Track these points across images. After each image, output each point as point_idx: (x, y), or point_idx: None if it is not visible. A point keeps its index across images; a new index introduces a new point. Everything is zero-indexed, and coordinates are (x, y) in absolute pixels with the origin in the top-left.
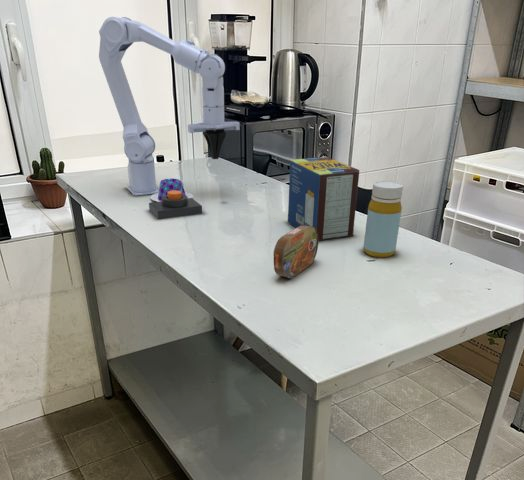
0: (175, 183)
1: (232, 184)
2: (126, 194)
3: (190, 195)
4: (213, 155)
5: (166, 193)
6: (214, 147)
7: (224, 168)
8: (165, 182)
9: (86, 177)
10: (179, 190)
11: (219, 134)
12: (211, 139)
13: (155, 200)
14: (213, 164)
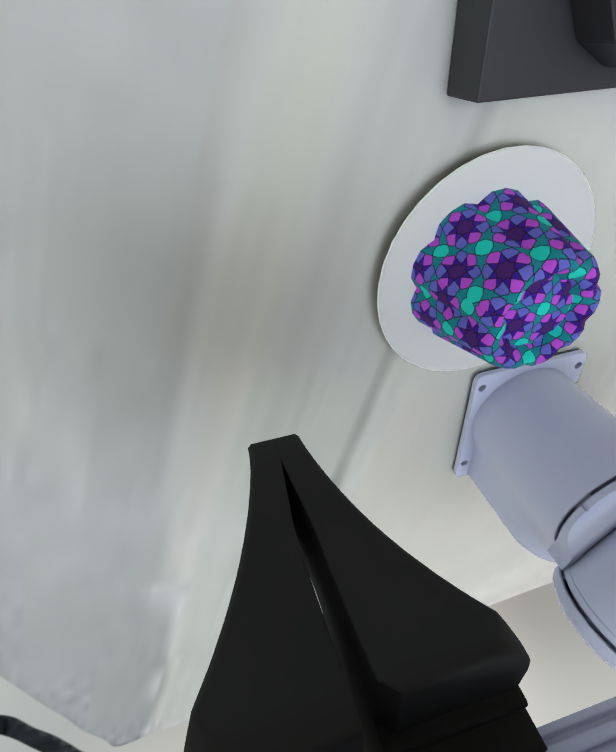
0: (548, 263)
1: (82, 481)
2: (586, 379)
3: (386, 286)
4: (311, 462)
5: (567, 229)
6: (336, 519)
7: (95, 666)
8: (596, 281)
9: None
10: (504, 236)
11: (340, 709)
12: (440, 591)
13: (578, 236)
14: (136, 692)
